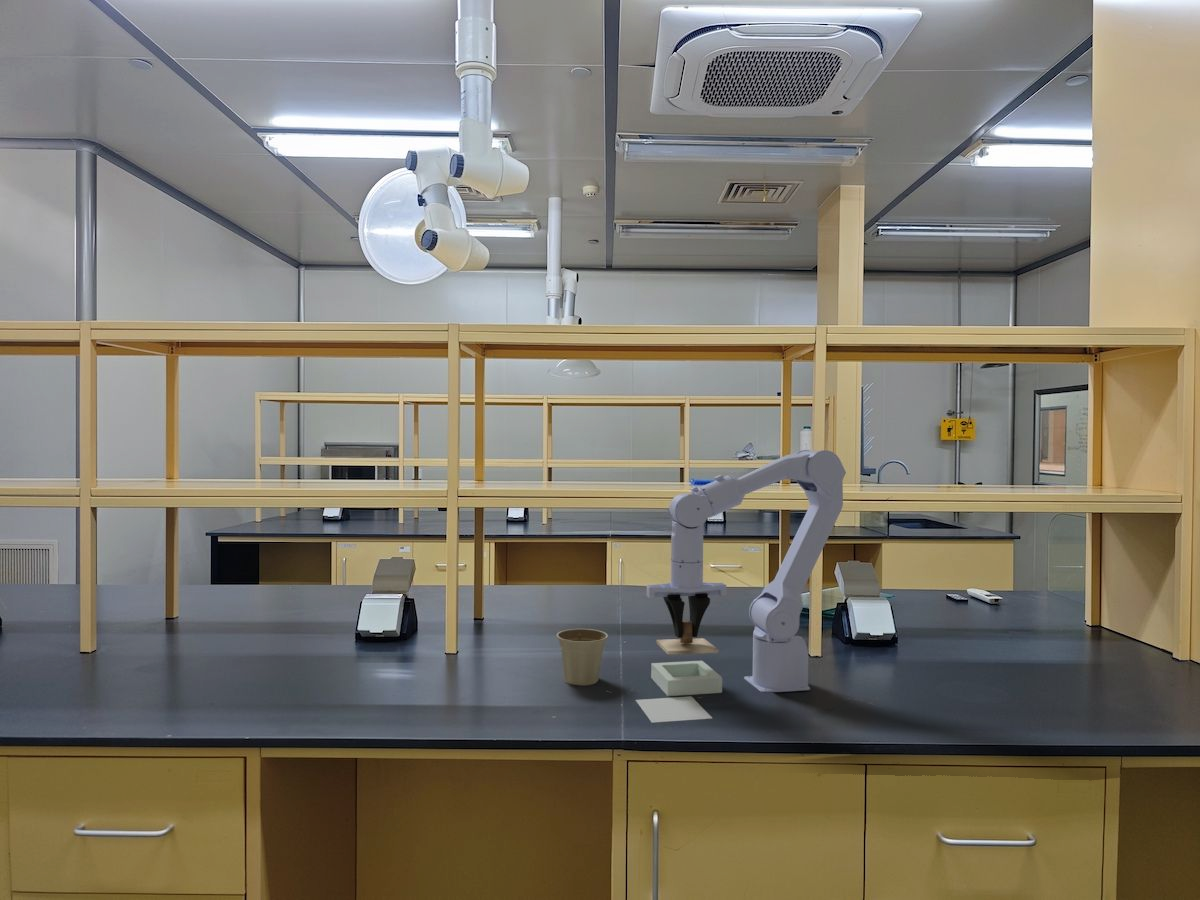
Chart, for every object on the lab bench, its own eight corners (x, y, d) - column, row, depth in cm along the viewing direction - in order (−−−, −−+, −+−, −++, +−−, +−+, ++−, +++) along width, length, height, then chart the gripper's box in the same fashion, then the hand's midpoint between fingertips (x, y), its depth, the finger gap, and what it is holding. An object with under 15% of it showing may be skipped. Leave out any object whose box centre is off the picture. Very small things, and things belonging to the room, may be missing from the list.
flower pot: (579, 670, 137) (579, 625, 137) (617, 681, 131) (618, 634, 131) (545, 682, 130) (545, 635, 130) (584, 694, 124) (585, 644, 124)
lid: (703, 641, 132) (703, 616, 133) (718, 652, 124) (718, 626, 124) (656, 643, 131) (656, 617, 131) (668, 654, 122) (667, 627, 122)
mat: (691, 698, 122) (691, 696, 122) (712, 720, 113) (712, 718, 113) (635, 702, 120) (635, 699, 120) (651, 725, 110) (652, 722, 110)
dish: (701, 678, 134) (702, 660, 134) (722, 696, 125) (722, 677, 125) (651, 681, 132) (651, 663, 132) (667, 700, 122) (667, 680, 122)
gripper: (716, 556, 133) (715, 628, 133) (641, 558, 130) (641, 632, 130) (731, 562, 126) (730, 638, 126) (653, 564, 123) (652, 642, 123)
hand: (686, 636), depth 128 cm, fingers closed on lid, 2 cm apart
